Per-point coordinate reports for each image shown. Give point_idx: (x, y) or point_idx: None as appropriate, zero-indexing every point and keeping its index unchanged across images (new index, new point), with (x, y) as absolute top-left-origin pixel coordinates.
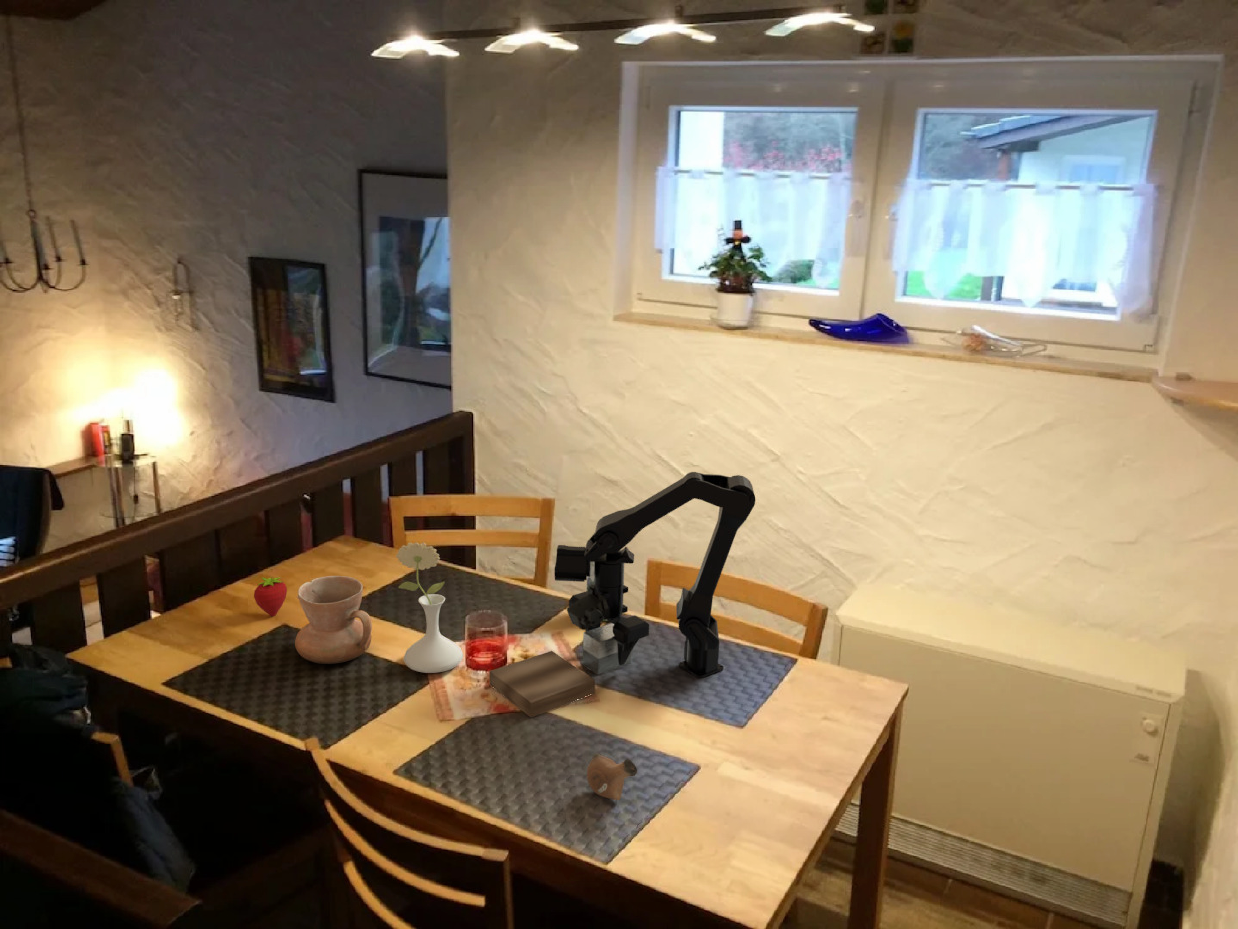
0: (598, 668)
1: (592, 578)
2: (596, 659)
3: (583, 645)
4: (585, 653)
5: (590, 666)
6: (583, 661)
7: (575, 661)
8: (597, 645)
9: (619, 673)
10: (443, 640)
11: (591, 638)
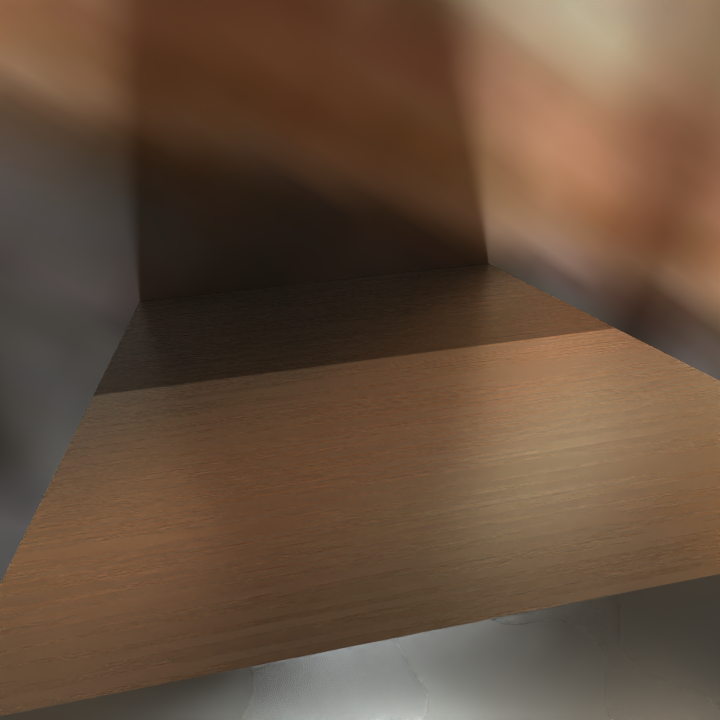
0: (129, 333)
1: None
2: (167, 369)
3: (653, 355)
4: (514, 321)
5: (328, 292)
6: (496, 275)
7: (610, 225)
8: (86, 576)
9: None
10: None
11: (481, 594)
